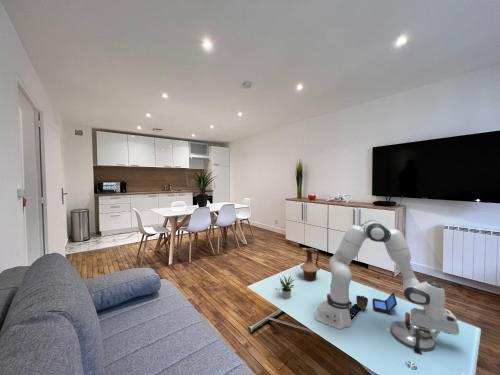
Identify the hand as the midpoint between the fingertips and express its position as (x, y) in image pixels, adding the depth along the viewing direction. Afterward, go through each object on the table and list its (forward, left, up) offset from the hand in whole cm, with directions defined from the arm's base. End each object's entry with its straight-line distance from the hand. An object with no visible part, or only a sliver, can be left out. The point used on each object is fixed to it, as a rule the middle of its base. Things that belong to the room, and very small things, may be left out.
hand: (433, 336), depth 116 cm
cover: (-5, 0, -1) cm, 5 cm away
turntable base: (-10, 0, -4) cm, 10 cm away
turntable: (-10, 0, -2) cm, 10 cm away
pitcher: (-74, +50, -4) cm, 89 cm away
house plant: (-85, +13, -4) cm, 86 cm away
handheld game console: (-20, +26, -4) cm, 33 cm away
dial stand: (-10, -9, -4) cm, 14 cm away
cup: (-34, +18, -4) cm, 39 cm away
